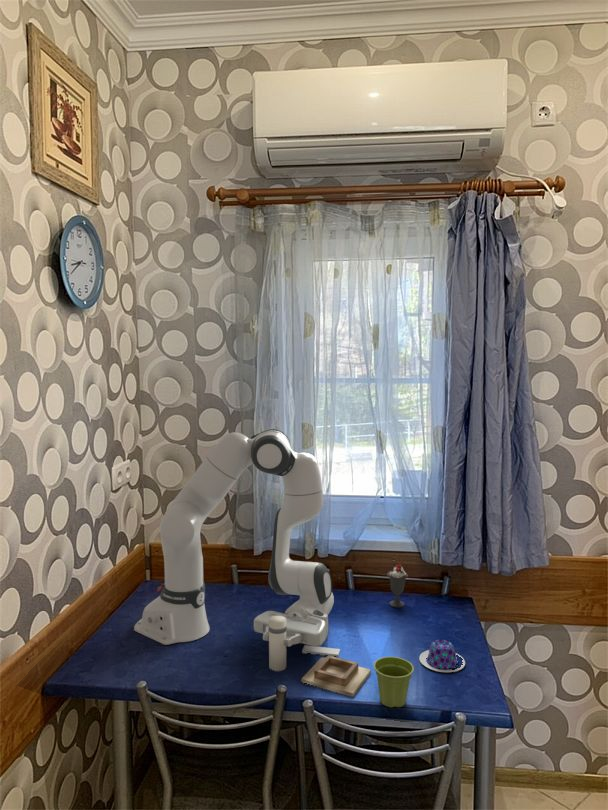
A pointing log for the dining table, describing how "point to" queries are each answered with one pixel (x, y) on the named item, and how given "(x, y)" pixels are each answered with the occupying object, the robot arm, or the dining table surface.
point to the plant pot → (393, 680)
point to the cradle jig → (337, 675)
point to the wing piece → (321, 650)
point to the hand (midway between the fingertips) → (275, 640)
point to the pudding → (441, 657)
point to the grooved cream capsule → (277, 643)
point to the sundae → (397, 584)
